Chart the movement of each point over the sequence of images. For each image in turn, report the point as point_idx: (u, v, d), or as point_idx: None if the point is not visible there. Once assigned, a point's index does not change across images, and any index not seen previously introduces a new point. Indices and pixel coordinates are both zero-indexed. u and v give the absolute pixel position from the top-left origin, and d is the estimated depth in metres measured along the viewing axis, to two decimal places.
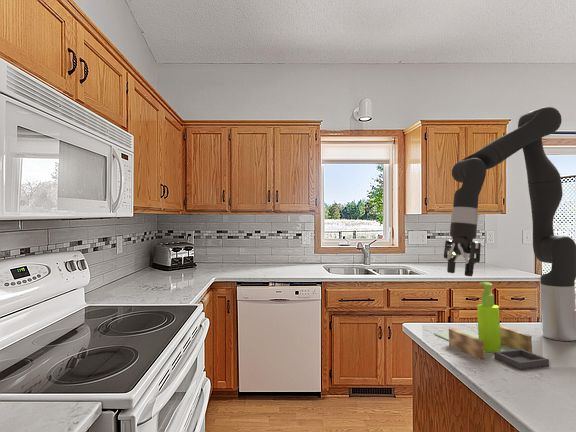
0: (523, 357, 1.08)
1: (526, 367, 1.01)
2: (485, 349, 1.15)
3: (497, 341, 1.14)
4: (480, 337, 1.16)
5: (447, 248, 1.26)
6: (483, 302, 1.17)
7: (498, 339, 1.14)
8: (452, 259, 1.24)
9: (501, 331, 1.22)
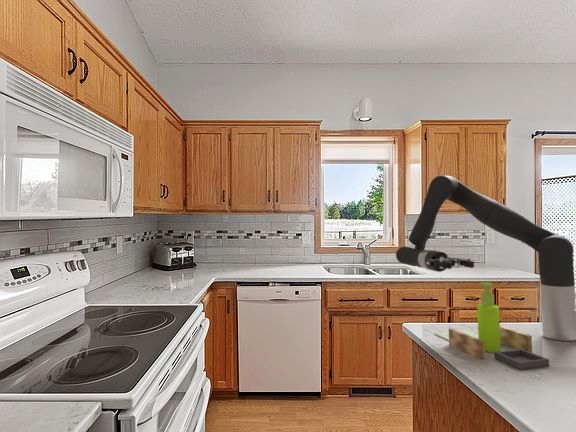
0: (523, 357, 1.08)
1: (526, 367, 1.01)
2: (485, 349, 1.15)
3: (497, 341, 1.14)
4: (480, 337, 1.16)
5: (461, 264, 1.37)
6: (483, 302, 1.17)
7: (498, 339, 1.14)
8: (463, 263, 1.34)
9: (501, 331, 1.22)
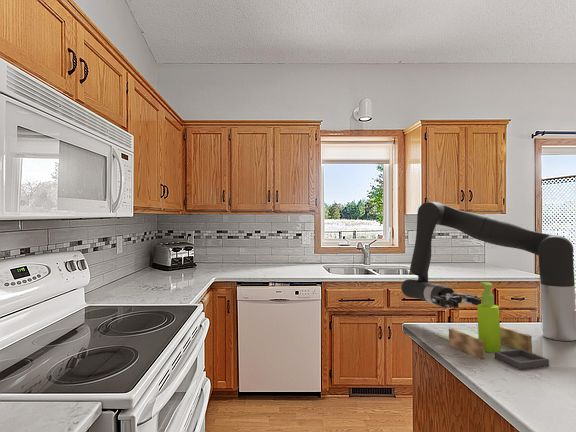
0: (523, 357, 1.08)
1: (526, 367, 1.01)
2: (485, 349, 1.15)
3: (497, 341, 1.14)
4: (480, 337, 1.16)
5: (468, 300, 1.34)
6: (483, 302, 1.17)
7: (498, 339, 1.14)
8: (470, 300, 1.31)
9: (501, 331, 1.22)
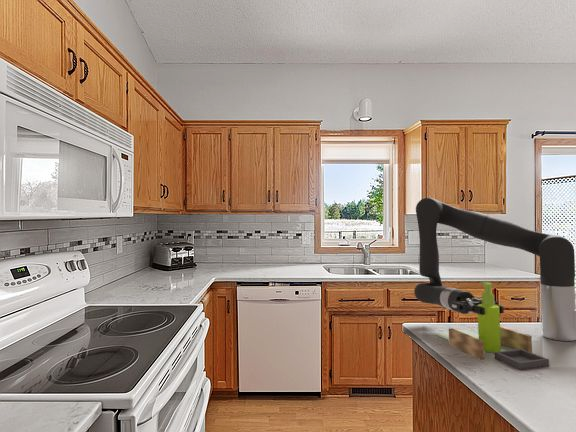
0: (523, 357, 1.08)
1: (526, 367, 1.01)
2: (485, 349, 1.15)
3: (497, 341, 1.14)
4: (480, 337, 1.16)
5: None
6: (483, 302, 1.17)
7: (498, 339, 1.14)
8: None
9: (501, 331, 1.22)
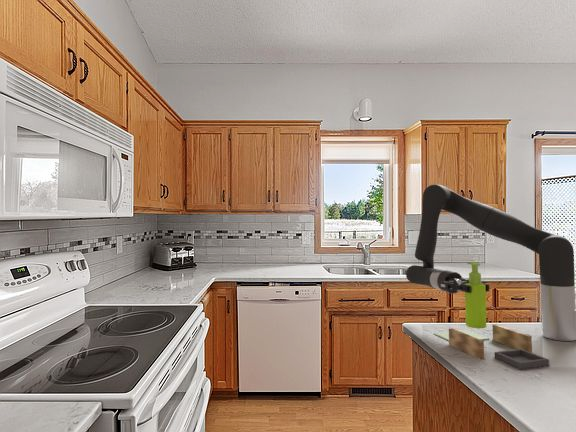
0: (523, 357, 1.08)
1: (526, 367, 1.01)
2: (471, 325, 1.20)
3: (483, 318, 1.20)
4: (467, 314, 1.22)
5: None
6: (470, 281, 1.22)
7: (484, 316, 1.20)
8: None
9: (501, 331, 1.22)
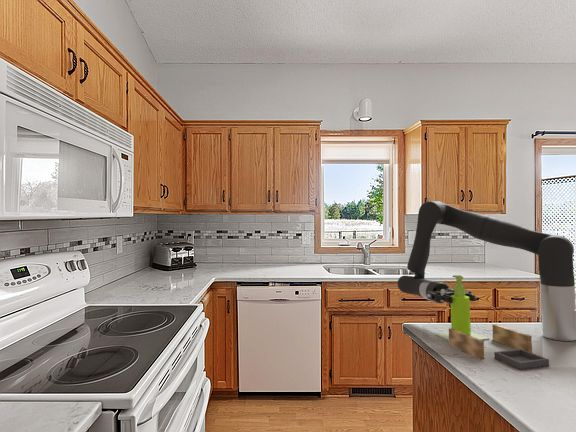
0: (523, 357, 1.08)
1: (526, 367, 1.01)
2: None
3: (467, 328, 1.27)
4: (452, 325, 1.29)
5: None
6: (455, 293, 1.29)
7: (468, 326, 1.27)
8: (465, 295, 1.34)
9: (501, 331, 1.22)
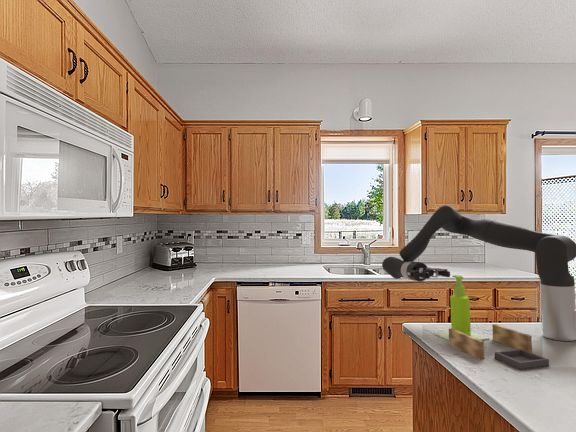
0: (523, 357, 1.08)
1: (526, 367, 1.01)
2: None
3: (467, 328, 1.27)
4: (452, 325, 1.29)
5: (440, 274, 1.49)
6: (455, 293, 1.30)
7: (468, 326, 1.27)
8: (441, 273, 1.46)
9: (501, 331, 1.22)
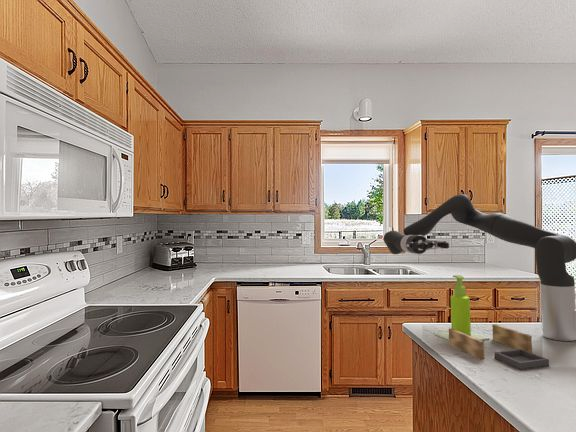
0: (523, 357, 1.08)
1: (526, 367, 1.01)
2: None
3: (467, 328, 1.27)
4: (452, 325, 1.29)
5: (439, 246, 1.50)
6: (455, 293, 1.29)
7: (468, 326, 1.27)
8: (440, 244, 1.47)
9: (501, 331, 1.22)
